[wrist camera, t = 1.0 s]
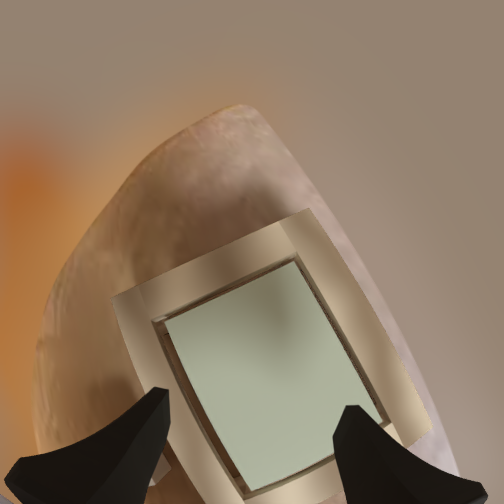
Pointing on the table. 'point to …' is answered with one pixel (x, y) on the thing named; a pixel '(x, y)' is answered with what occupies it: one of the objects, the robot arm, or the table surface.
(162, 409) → the robot arm
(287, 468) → the flap
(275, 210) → the table surface
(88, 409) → the table surface
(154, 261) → the table surface
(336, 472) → the stand
